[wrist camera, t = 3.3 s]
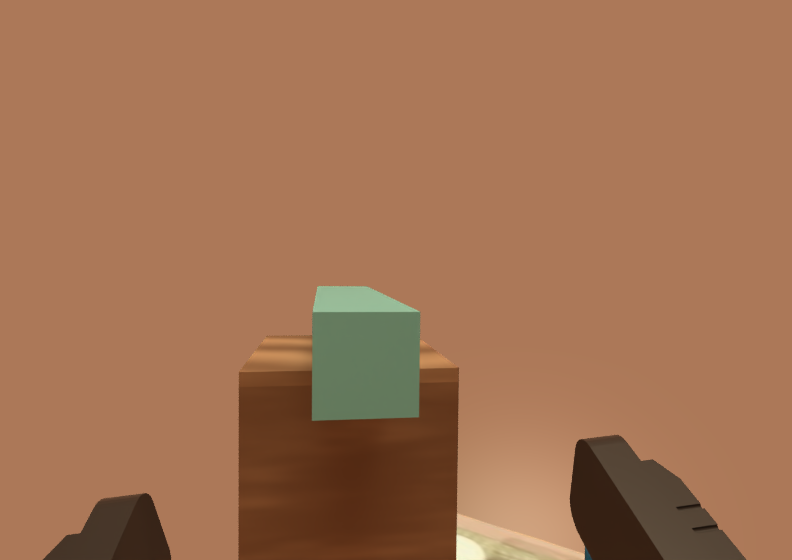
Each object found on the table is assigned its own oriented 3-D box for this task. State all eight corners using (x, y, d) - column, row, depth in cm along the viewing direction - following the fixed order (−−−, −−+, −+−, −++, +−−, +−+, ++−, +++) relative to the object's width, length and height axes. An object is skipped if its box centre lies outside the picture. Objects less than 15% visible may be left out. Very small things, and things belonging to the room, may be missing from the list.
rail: (317, 335, 42) (317, 286, 41) (366, 335, 42) (367, 286, 42) (311, 420, 19) (312, 312, 19) (418, 417, 19) (420, 311, 19)
